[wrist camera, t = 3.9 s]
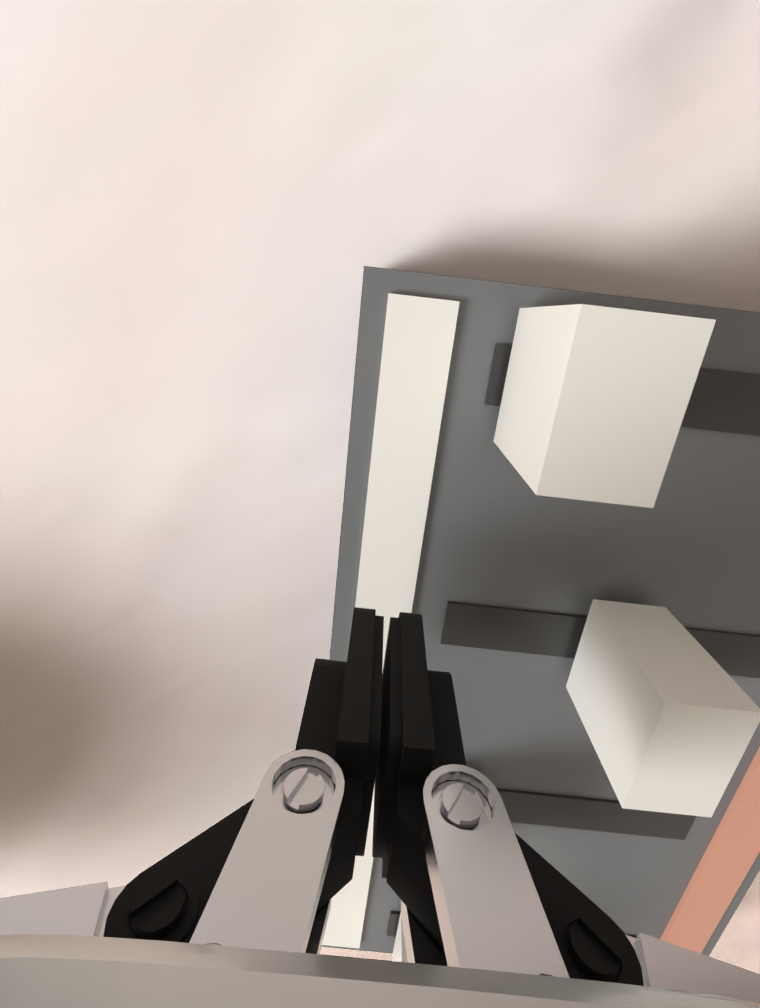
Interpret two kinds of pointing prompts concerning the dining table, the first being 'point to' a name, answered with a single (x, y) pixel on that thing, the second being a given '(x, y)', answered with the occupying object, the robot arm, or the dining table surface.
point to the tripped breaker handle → (658, 709)
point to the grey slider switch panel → (557, 559)
